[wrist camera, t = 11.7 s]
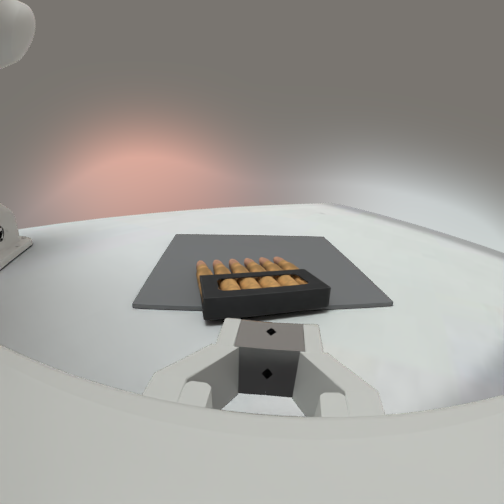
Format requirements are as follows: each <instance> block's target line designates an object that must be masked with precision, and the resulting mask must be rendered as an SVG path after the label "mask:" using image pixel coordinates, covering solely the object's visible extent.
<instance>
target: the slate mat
mask: <svg viewBox="0 0 504 504" xmlns="http://www.w3.org/2000/svg"><path fill="white" fill-rule="evenodd" d="M261 257H263V258H266V259H268V260H269V261H271V262H272V263H274V261H273V258H274V257H280V258H283V259H284V260H286V261H287V262H290V263H292V264H294V265H295V266H296V267H298V268H299V269H305V270H307V271H308V272H310V273H311V274H313V275H314V276H315V277H317V278H318V279H320V280H321V281H322V282H324V283H325V284H327V285H328V286H330V287H331V292H330V299H329V306H328V307H326V308H319V309H311V310H324V309H347V308H366V307H381V306H393V301H392V300H391V299H390V298H389V297H388V296H387V295H386V294H385V293H384V292H383V291H381V290H380V289H379V288H378V287H377V286H376V285H375V284H374V283H373V282H372V281H371V280H370V279H369V278H368V277H367V276H366V275H365V274H364V273H363V272H361V271H360V270H359V269H358V268H357V267H356V266H355V265H354V264H353V263H352V262H351V261H350V260H349V259H347V258H346V257H345V256H344V255H343V254H342V253H341V252H340V251H339V250H338V249H336V248H335V247H334V246H333V245H332V244H331V243H330V242H329V241H328V240H326V239H325V238H324V237H313V236H269V235H200V234H176V235H175V237H174V238H173V240H172V241H171V243H170V244H169V246H168V248H167V249H166V251H165V252H164V254H163V255H162V257H161V258H160V260H159V261H158V263H157V265H156V266H155V268H154V269H153V271H152V272H151V274H150V276H149V277H148V279H147V280H146V282H145V284H144V285H143V287H142V289H141V290H140V292H139V294H138V295H137V297H136V298H135V300H134V302H133V303H132V305H133V308H145V309H168V310H202V304H201V297H200V290H199V286H198V282H197V277H196V273H197V269H196V265H197V262H198V261H200V260H201V261H203V262H205V264H206V265H207V267H208V268H209V269H210V270H211V272H212V273H213V275H214V269H213V261H214V260H219V261H221V262H222V263H223V265H224V266H225V267H227V268H228V269H229V271H230V272H231V269H230V267H229V260H230V259H235V260H237V261H238V262H239V263H240V264H241V265H242V266H244V267H245V265H244V260H245V258H249V259H252V260H253V261H254V262H256V263H257V264H259V258H261ZM259 265H260V264H259ZM245 268H246V267H245ZM231 274H232V272H231Z"/></svg>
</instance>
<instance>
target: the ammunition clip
mask: <svg viewBox="0 0 504 504" xmlns="http://www.w3.org/2000/svg"><path fill="white" fill-rule="evenodd" d="M273 261H274V263H272V262H271V261H269V260H268V259H266V258H263V257H261V258H259V264H260V265H259V264H257V263H256V262H254V261H253V260H252V259H249V258H245V260H244V265H245V267H246V268H245V267H244V266H242V265H241V264H240V263H239V262H238V261H237V260H235V259H230V260H229V267H230V269H231V272H232V274H231V272H230V271H229V269H228V268H227V267H225V266H224V265H223V263H222V262H221V261H219V260H214V261H213V269H214V275H213V273H212V272H211V270H210V269H209V268H208V267H207V265H206V264H205V262H203V261H201V260H200V261H198V262H197V265H196V269H197V273H196V277H197V282H198V286H199V290H200V297H201V304H202V311H203V317H204V320H216V319H226V318H239V317H250V316H260V315H269V314H278V313H287V312H295V311H303V310H311V309H319V308H326V307H328V306H329V299H330V292H331V287H330V286H328V285H327V284H325V283H324V282H322V281H321V280H320V279H318V278H317V277H315V276H314V275H313V274H311V273H310V272H308V271H307V270H305V269H299V268H298V267H296V266H295V265H294V264H292V263H290V262H287V261H286V260H284V259H283V258H280V257H274V258H273Z"/></svg>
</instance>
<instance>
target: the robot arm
mask: <svg viewBox="0 0 504 504" xmlns="http://www.w3.org/2000/svg"><path fill="white" fill-rule="evenodd" d="M34 32H35V18H34V14H33V12H32V10H31V9H30V8H29V7H28V5H26V4H24V3H22V2H20V1H18V0H0V69H2V68H4V67H6V66H9V65H11V64H13V63H15V62H17V61H19V60H20V59H21V58H22V57H23V55H24V54H25V53H26V51H27V50H28V48H29V46H30V44H31V42H32V39H33V36H34ZM32 244H33V242H32V239H31V238H29V237H23V236H19V232H18V227H17V222H16V218H15V216H14V214H13V213H12V211H11V210H10V209H8V208H7V207H5V206H4V205H3V204H1V203H0V269H2V268H3V267H4V266H5V265H6V264H8V263H9V262H10V261H11V260H13V259H14V258H15V257H16V256H18V255H19V254H20V253H22V252H23V251H24V250H26V249H27V248H28V247H29V246H31V245H32ZM265 392H266V393H265ZM238 393H243V394H257V395H270V396H281V397H292V399H293V400H294V402H295V403H296V404H297V406H298V407H299V408H300V410H301V411H302V412H303V414H304V415H305V416H306V417H298V416H278V415H265V414H253V413H243V412H234V411H226V410H221V409H222V408H223V407H225V406H226V405H227V404H228V403H229V402H230V401H231V400H232V399H233V398H235V397H236V396H237V395H238ZM0 504H504V395H501V396H497V397H493V398H489V399H485V400H481V401H476V402H472V403H467V404H462V405H457V406H451V407H445V408H439V409H432V410H425V411H418V412H409V413H400V414H389V415H385V412H384V409H383V405H382V402H381V399H380V396H379V393H378V391H377V390H376V389H375V388H373V387H372V386H371V385H369V384H368V383H367V382H365V381H364V380H363V379H361V378H360V377H359V376H357V375H356V374H355V373H353V372H352V371H351V370H350V369H348V368H347V367H346V366H344V365H343V364H342V363H340V362H339V361H338V360H337V359H335V358H334V357H333V356H331V355H330V354H329V353H324V352H323V346H322V340H321V335H320V329H319V325H318V324H291V323H272V322H263V321H254V320H244V319H242V320H241V319H236V318H226V319H225V320H224V323H223V325H222V328H221V331H220V333H219V336H218V339H217V342H216V344H210V345H208V346H206V347H204V348H202V349H201V350H199V351H197V352H195V353H193V354H191V355H189V356H187V357H185V358H183V359H181V360H179V361H177V362H175V363H173V364H171V365H169V366H167V367H165V368H163V369H161V370H159V371H157V372H155V373H154V375H153V376H152V378H151V380H150V382H149V383H148V385H147V387H146V389H145V390H144V392H143V394H142V395H140V394H136V393H132V392H128V391H124V390H121V389H117V388H114V387H110V386H107V385H103V384H100V383H97V382H93V381H90V380H87V379H84V378H81V377H78V376H75V375H72V374H69V373H67V372H64V371H61V370H58V369H56V368H53V367H50V366H48V365H45V364H43V363H40V362H38V361H35V360H33V359H31V358H28V357H26V356H24V355H21V354H19V353H17V352H15V351H13V350H10V349H8V348H6V347H4V346H2V345H0Z"/></svg>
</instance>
